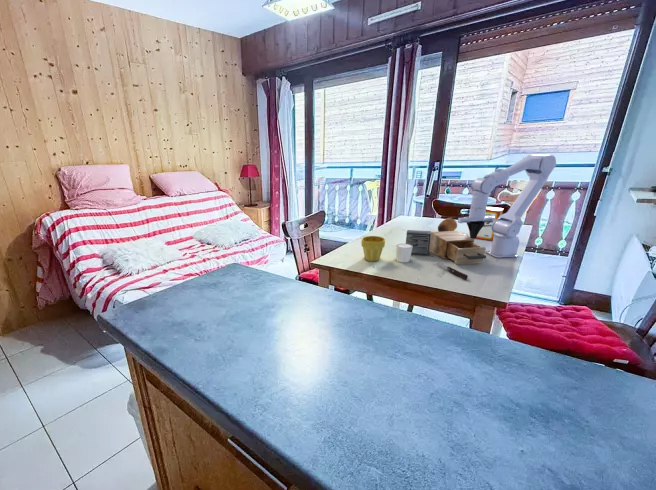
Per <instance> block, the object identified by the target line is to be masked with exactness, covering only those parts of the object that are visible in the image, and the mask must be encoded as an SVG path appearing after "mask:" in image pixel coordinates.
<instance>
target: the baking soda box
mask: <svg viewBox="0 0 656 490" xmlns="http://www.w3.org/2000/svg"><path fill="white" fill-rule="evenodd" d="M503 214H504V208H502V207H493V206H487V207H486V212H485V216H493V217H495V219H494V221H495V220H497V219H498V218H499V216H500V215H503ZM494 221H485V222H483V223H485V225H484V226H483V227H482V228H481V230H480V231H479V233H478V235H477V237H476V239H477V240H483V241H490V242H493V237H494V234H493V231H492V230H491V226H492V224H493V222H494ZM476 239H475V240H476Z"/></svg>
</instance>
